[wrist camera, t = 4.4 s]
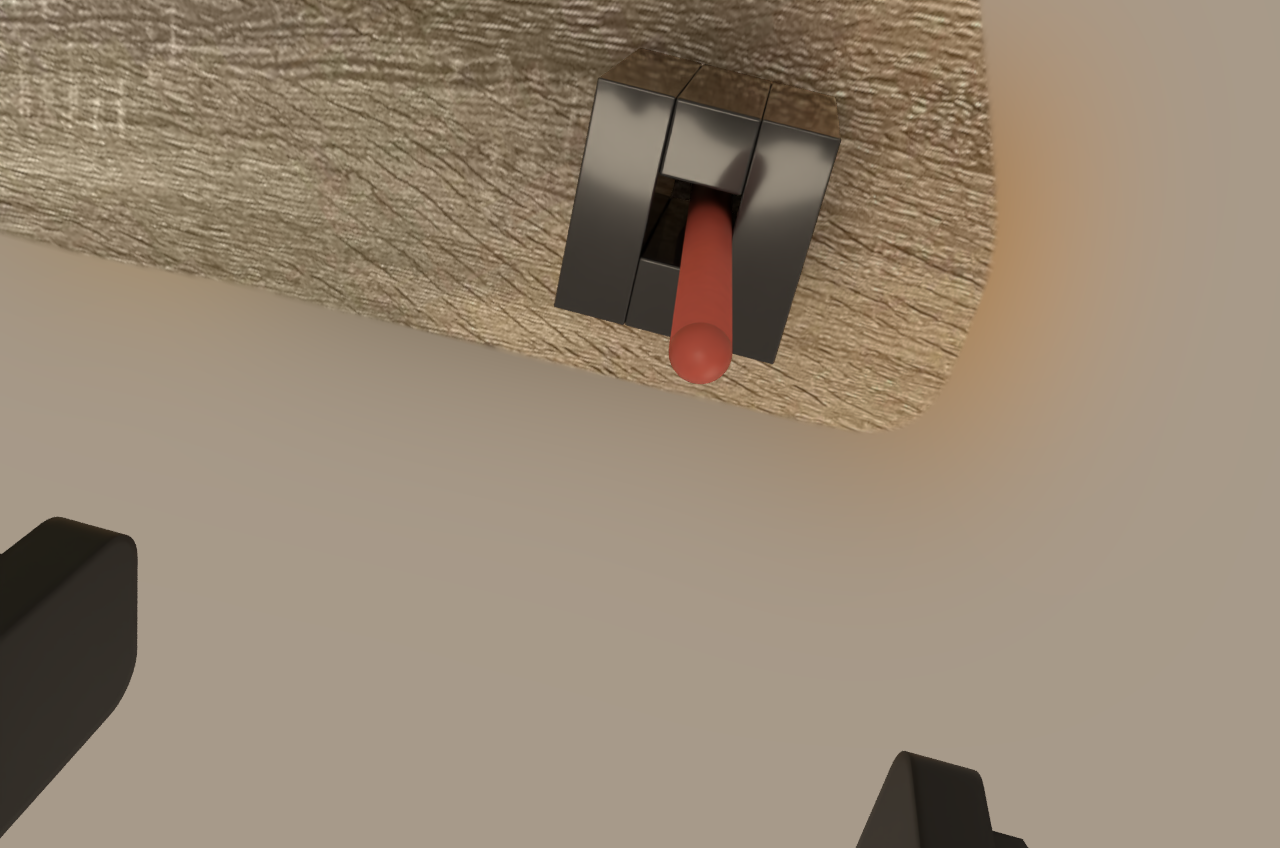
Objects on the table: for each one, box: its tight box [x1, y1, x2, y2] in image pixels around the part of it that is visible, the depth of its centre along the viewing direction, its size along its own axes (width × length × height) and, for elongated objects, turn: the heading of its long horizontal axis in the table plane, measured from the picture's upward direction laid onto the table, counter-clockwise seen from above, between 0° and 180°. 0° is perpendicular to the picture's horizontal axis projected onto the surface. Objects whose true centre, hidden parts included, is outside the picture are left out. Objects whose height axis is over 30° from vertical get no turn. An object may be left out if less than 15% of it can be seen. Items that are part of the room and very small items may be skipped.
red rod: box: [669, 184, 732, 384], centre depth 27 cm, size 1×1×16 cm
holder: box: [554, 48, 841, 364], centre depth 31 cm, size 6×6×7 cm
